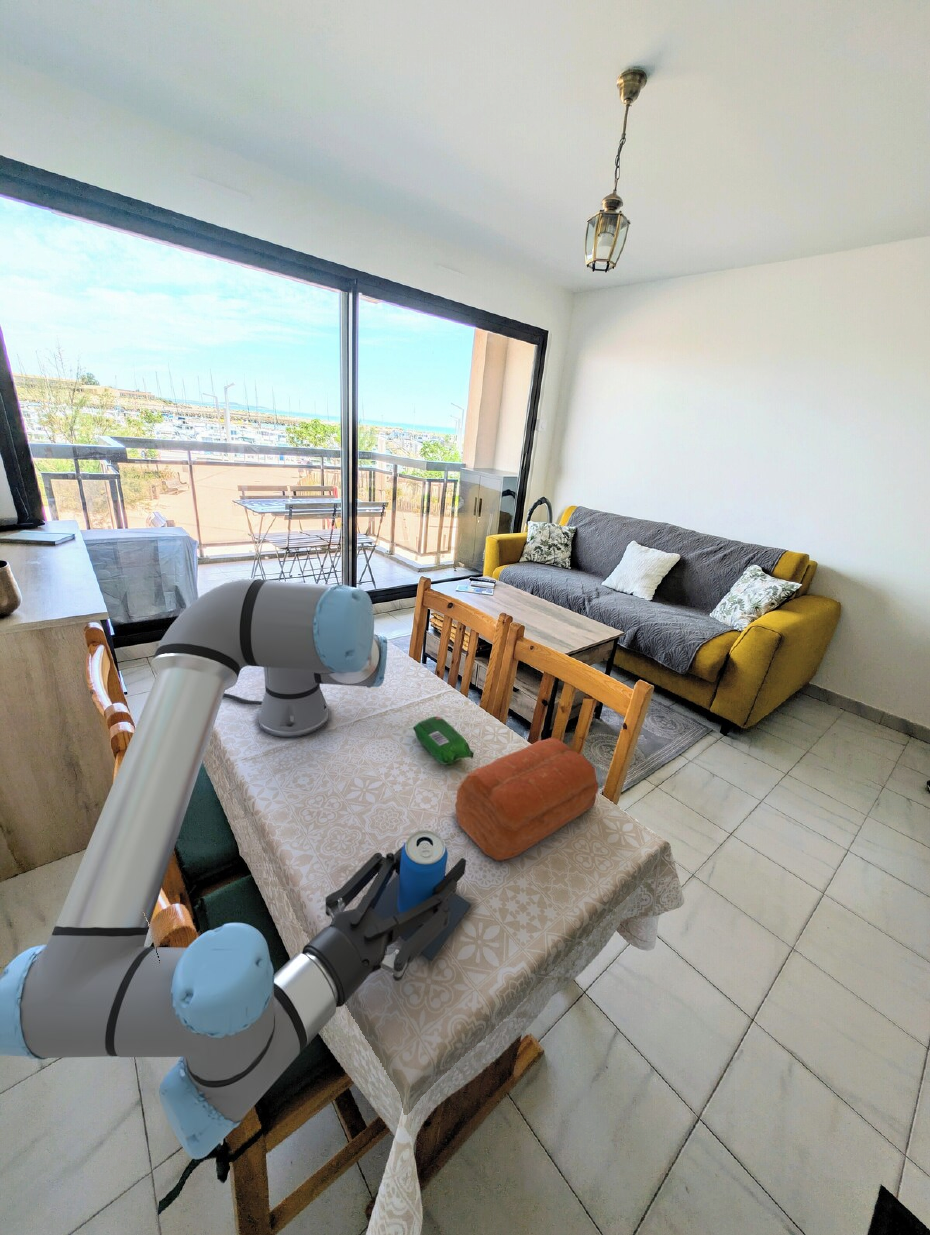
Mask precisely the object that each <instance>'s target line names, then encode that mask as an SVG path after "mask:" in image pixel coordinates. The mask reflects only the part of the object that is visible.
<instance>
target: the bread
mask: <svg viewBox="0 0 930 1235" xmlns="http://www.w3.org/2000/svg"><path fill="white" fill-rule="evenodd" d="M598 793H599V782H598V780H597V774H596V770H595V766H594V765H593V764H592V763H591V762H589V760H588V759H587V758H586V757H585V756H584V755H582V754H580V753H577V752H576V751H573V750H572V749H571V747H570V746H568V745H567V744H565V743H564V742H563V741H562V740H560V739H558V738H555V737H554V738H553V737H549V738H546V739H541V740H537V741H535V742H534V743H531V744H530V745H528V746H526V747H524V748H521V749H520V750H517V751H515V752H512V753H509V754H506V755H504V756H502V757H500V758H497V759H496V760H494V761H493V762H491V763H489V764H488V763H487V764H486V765H483V766H481V767H478V768H476V769H473V771H471V772H469V773H468V774H467V775H466V777H465V779H464V780H462V781H461V782H460V784H459V786H458V788H457V790H456V801H455V804H454V807H455V812H456V818H457V823H458V824H457V825H459V826H460V827H461V829H462V830H463V831H464V832H465V833H466V834H467V835H468V836H469V838H470V839H471V840H472V841H473V842H474V843H475V844H476V846H477V847H478V848H479V849H480V850H481V851H482V852H483V853H484V855H486V856H488V857H490V858H491V859H494V860H496V861H497V862H498V861H503V860H508V859H512V858H515V857H517V856H519V855H520V854H522V853H523V852H525V851H527V850H528V849H530V848H532V847H533V846H535V845H536V844H538V843H539V842H541V841H542V840H544V839H545V838H547V837H549V836H550V835H552V834H553V833H555V832H557V831H559V830H560V829H561V828H563V827H564V826H566V825H567V824H569V823H570V822H572V821H573V820H575V819H577V818H578V817H580V816H581V815H583V814H584V813H585V812H587V811H588V810H589V809H591V808H592V807H593V806H594V805H595V802H596V799H597V796H596V795H597V794H598Z"/></svg>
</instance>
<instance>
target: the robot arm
mask: <svg viewBox="0 0 930 1235" xmlns="http://www.w3.org/2000/svg"><path fill="white" fill-rule="evenodd" d="M373 607H374V606H373V602H372V600H371V597H370V595H369V594H368V592H367V591H365V590H364V589H362V588H359V587H354V586H349V585H346V584H323V583H311V582H299V581H285V580H272V579H271V580H270V579H262V578H251V577H248V578H247V577H246V578H239V579H234V580H230V581H227V582H224V583H222V584H220V585H217V586H215V587H213V588H212V589H210V590H208V591H206V592H205V593H203V594H202V595H201V596H199V597H198V598H197V599H195V600H194V601H193V602H191V603H190V604H189V606H187V607H186V608H185V609H184V610H183V611H181V613H180V614H179V615H178V616H177V617H176V619H174V621H173V622H172V624H170V626H169V627H168V629H167V631H166V632H165V633H164V635H163V637H162V638H161V639H160V641H159V643H158V646H157V648H156V650H155V652H154V655H153V657H152V659H151V662H150V668H151V669H152V671H153V672H154V674H155V678H154V681H153V683H152V686H151V689H150V691H149V693H148V696H147V698H146V701H145V704H144V706H143V708H142V711H141V714H140V716H139V718H138V720H137V723H136V726H135V728H134V731H133V733H132V735H131V738H130V740H129V743H128V745H127V748H126V751H125V753H124V755H123V757H122V760H121V763H120V765H119V767H118V770H117V772H116V774H115V777H114V780H113V782H112V785H111V788H110V790H109V793H108V795H107V797H106V800H105V803H104V805H103V807H102V810H101V813H100V814H99V817H98V820H97V822H96V824H95V827H94V830H93V832H92V835H91V837H90V839H89V843H88V845H87V847H86V850H85V852H84V855H83V857H82V859H81V861H80V864H79V867H78V869H77V872H76V874H75V877H74V879H73V881H72V884H71V887H70V889H69V891H68V894H67V897H66V899H65V901H64V903H63V906H62V908H61V911H60V914H59V916H58V919H57V921H56V924H55V926H54V927H53V931H52V932H51V935H50V937H49V939H48V941H47V944H42V945H36V946H35V945H34V946H33V947H30V948H28V949H26V950H24V951H22V952H20V953H19V954H18V955H17V956H15V957H14V959H13V960H11V961H10V962H9V963H8V965H7V966H5V968H4V970H3V971H2V974H1V977H0V1056H4V1057H5V1056H6V1057H7V1056H8V1057H25V1058H26V1057H28V1058H29V1059H31V1060H38V1061H45V1060H47V1059H60V1058H61V1059H64V1058H65V1059H66V1058H100V1057H105V1058H106V1057H107V1058H108V1057H110V1058H111V1057H112V1058H114V1057H118V1058H179V1059H178V1061H177V1063H175V1065H174V1066H173V1067H172V1068H171V1069H170V1070H169V1071H168V1073H166V1075H165V1076H164V1077H163V1079H162V1081H161V1083H160V1085H159V1087H158V1095H159V1096H158V1097H159V1100H160V1104H161V1106H162V1108H163V1111H164V1114H165V1116H166V1118H167V1122H168V1123H169V1125H170V1127H171V1129H172V1131H173V1134H174V1135H175V1137H176V1139H177V1141H178V1142H179V1144H180V1145H181V1147H182V1149H183V1150H184V1152H185V1153H186V1155H188V1156H189V1157H190V1158H191V1159H194V1160H200V1159H204V1158H205V1157H207V1156H208V1155H209V1154H210V1153H211V1152H212V1151H213V1150H215V1148H216V1147H217V1146H218V1145H219V1144H220V1143H221V1142H222V1141H223V1140H224V1139H225V1138H226V1137H227V1136H228V1135H229V1134H230V1133H231V1132H232V1131H233V1130H234V1129H236V1128H238V1126H239V1125H240V1124H241V1123H242V1122H243V1119H244V1118H245V1117H246V1116H247V1114H248V1113H249V1112H250V1111H251V1110H252V1108H253V1107H255V1105H256V1104H257V1103H258V1102H259V1100H261V1098H262V1097H263V1096H264V1095H265V1094H266V1092H267V1091H269V1089H270V1088H271V1087H272V1086H273V1085H274V1083H276V1081H277V1080H278V1079H279V1078H280V1077H281V1075H282V1074H283V1073H284V1072H285V1071H286V1070H287V1069H288V1068H289V1066H290V1065H291V1064H292V1063H293V1062H294V1061H295V1060H296V1058H297V1057H298V1056H299V1055H300V1053H301V1052H303V1050H304V1049H305V1048H307V1046H308V1045H309V1044H310V1043H311V1042H312V1040H314V1038H315V1037H316V1036H317V1035H318V1034H319V1033H320V1032H321V1031H322V1030H323V1028H324V1027H325V1026H326V1025H327V1024H328V1022H330V1020H331V1019H332V1018H333V1017H334V1016H335V1014H336V1013H337V1008H340V1007H343V1006H345V1004H346V1003H347V1002H348V1001H349V999H350V998H351V997H353V995H354V994H355V993H356V991H357V990H358V989H359V988H360V987H361V986H362V985H363V984H364V982H365V981H366V980H367V978H368V977H369V976H370V975H371V974H373V973H375V972H377V971H379V970H381V969H383V970H385V971H386V972H389V973H391V974H392V979H393V980H394V981H396V982H400V981H402V980H403V978H404V976H405V973H406V971H407V970H408V967H409V965H410V964H411V963H412V962H413V961H414V960H415V959H416V958H417V957H419V955H420V954H421V952H422V951H423V950H424V949H425V948H426V947H427V946H428V945H429V944H430V943H431V942H432V940H433V939H434V938H435V937H436V936H437V935H438V934H439V933H440V932H441V931H442V930H443V929H444V928H445V927H446V926H447V925H448V923H449V916H450V907H449V906H446V904H447V902H448V901H449V900H450V899H451V898H452V897H453V896H454V894H455V893H456V892H457V888H458V882H459V881H460V880H461V878H462V877H463V876H464V875H465V872H466V866H467V859H465V858H464V857H461V858H460V859H459V861H457V863H455V865H453V867H452V868H451V869H450V870H448V872H447V873H446V874H445V877H444V878H443V879H442V880H441V881H440V882H439V883H438V884H437V885H436V886H435V887H434V893H433V896H432V897H430V898H428V899H427V900H425V901H423V902H421V903H419V904H418V905H416V906H414V907H412V908H410V909H408V910H407V911H405V912H403V913H401V914H399V915H398V916H396V917H394V916H391V917H389V918H387V919H386V920H385V919H383V918H382V917H380V916H378V915H377V914H376V912H375V911H374V908H375V906H376V905H377V903H378V901H379V899H380V897H381V895H382V893H383V891H384V889H385V888H386V886H387V885H388V884H389V883H390V880H391V878H392V876H393V875H394V873H395V874H396V875H397V874H398V875H400V864H401V852H402V848H403V846H404V845H402V846H401V847H400V848H398V850H396V851H395V852H394V853H393V852H388V853H387V854H386V855H385V856H383V854H382V853H381V852H376V853H374V854H373V855H372V856H371V857H370V858H369V859H368V860H367V861H366V862H365V863H364V864H363V865H362V866H361V867H360V868H359V869H358V870H357V871H356V872H355V873H354V874H353V875H352V876H351V877H350V878H349V880H348V881H347V882H345V883H344V884H343V885H342V887H341V888H339V889H337V890H335V891H334V892H332V893H330V894H328V895H327V896H326V897H325V899H324V900H325V903H324V904H325V907H324V908H325V910H324V912H325V915H326V916H328V917H330V918H331V921H330V923H329V925H327V926H325V927H323V929H321V930H320V932H318V933H317V934H316V935H315V936H314V937H313V938H312V939H311V940H309V942H308V943H306V944H305V945H304V946H303V947H302V952H300V953H295V954H294V955H293V956H292V957H291V958H290V959H289V960H288V961H286V963H285V964H284V965H282V967H280V968H279V970H277V971H276V972H274V971H275V970H274V967H273V962H272V961H271V956H270V950H269V946H268V942H267V940H266V938H265V937H264V935H263V934H262V932H261V931H259V930H258V928H255V927H254V926H252V925H250V924H248V923H243V922H228V923H224V924H223V925H221V926H219V927H216V928H214V929H209V930H207V931H205V932H203V933H202V934H200V935H199V936H198V937H196V939H194V940H193V941H192V942H191V943H190V944H189V945H188V947H176V946H175V947H173V946H172V947H171V946H170V947H169V946H166V947H163V946H162V947H161V946H145V944H146V940H147V936H148V934H149V931H150V925H151V922H152V918H153V916H154V913H155V909H156V907H157V903H158V899H159V897H160V894H161V890H162V888H163V885H164V882H165V879H166V876H167V872H168V869H169V867H170V863H171V861H172V860H171V859H172V857H173V854H174V850H175V847H176V844H177V841H178V838H179V835H180V832H181V829H182V826H183V822H184V819H185V816H186V813H187V811H188V807H189V804H190V801H191V798H192V795H193V791H194V788H195V785H196V782H197V778H198V775H199V772H200V770H201V767H202V764H203V760H204V757H205V754H206V750H207V748H208V745H209V742H210V739H211V736H212V732H213V729H214V726H215V724H216V723H215V722H216V720H217V717H218V714H219V710H220V708H221V705H222V704H221V703H222V701H223V698H226V699H227V698H228V699H231V700H234V701H236V702H239V703H241V704H246V705H255V706H260V707H259V708H258V709H259V710H258V713H257V714H258V715H257V720H258V726H259V728H260V729H261V730H262V731H263V732H264V733H267V734H268V735H271V736H274V737H279V738H297V737H301V736H306V735H309V734H312V733H314V732H316V731H318V730H320V728H322V727H323V726H324V725H325V724H326V722H327V721H328V719H329V707H328V704H327V702H326V698H325V696H324V693H323V692H322V689H321V685H337V686H352V687H364V688H365V687H366V688H367V689H369V688H370V689H371V688H379V687H381V686H382V685H383V683H384V680H385V674H386V669H387V668H386V667H387V659H388V658H387V657H388V639H387V637H386V636H384V635H379V634H377V633H375V616H374V615H375V614H374V611H373V609H374V608H373ZM249 666H250V667H260V668H263V674H264V676H263V677H264V695H263V698H262V700H250V699H246V698H242V697H239V696H236V695H234V694H230V693H225V692H226V690H229V689H231V688H233V687H234V686H235V685H236V684H237V683H238V679H239V676H240V673H241V670H242V669H243V668H245V667H249ZM372 880H373V881H372ZM371 881H372V883H371V885H370V886H369V888H368V890H367V891H366V893H365V894H364V895H363V896H362V898H361V900H360V901H359V903H358V905H357V906H356V908H354V909H349V910H345V909H346V907H347V906H348V905H349V904H351V902H352V901H353V900H354V899H355V898H357V896H358V895H359V894H360V893H361V892H362V891H363V890H364V889H365V887H366V886H368V884H369V883H370V882H371ZM456 894H457V893H456ZM142 910H143V911H142ZM143 912H144V913H145V916H144V913H143ZM145 917H146V918H147V920H148V922H149V924H150V925H149V926H148V922H147V921H146V918H145ZM426 921H427V922H426ZM424 922H426V923H425V924H424V925H423V926H422V927H421V928H420V929H419V930H418V931H417V932H415V933H414V934H413V935H412V936H411V937H410V938H409V939H408V940H407V941H405V942H404V943H403V945H401V947H400V949H398V948H396V949H395V950H394V951H393V952H392V953H390V954H387V950H388V947H389V946H392V945H393V944H394V943H396V942H397V941H398V939H399V938H401V937H400V936H402V935H404V934H406V933H407V932H409V931H411V930H412V929H414V928H416V927H418V926H419V925H421V924H423V923H424ZM155 947H157V953H158V955H157V953H156V950H155ZM157 956H159V958H158V957H157ZM159 960H160V961H159ZM159 962H160V964H159Z"/></svg>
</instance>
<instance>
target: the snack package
mask: <svg viewBox="0 0 930 1235" xmlns="http://www.w3.org/2000/svg"><path fill="white" fill-rule="evenodd" d="M412 729H413V731H414V733H415V735H416V739H417V740H418V741H419V742H420V744H422V745H423V747H425V748H426V750H427V751H428V752H429V753H430V754H431V755H432V756H433V757H434V758H435V759H436V760H437V761H438V762H439V763H441V764H442V765H445V766H446V765H448V764H449V765H452V764H454V763H455V762H457V761H459V760H461V759H467V758H471V759H473V758H474V754H475V752H474V751H472V750H471V748H470V746H469V743H468V742H467V740H466V739H465V737H464V736H462V735H461V734H460V733H459V731H457V730H456V729H455V728H454V727H453V726H452V725H451V724H450V723H449V722H448V721H447V720H446V719H444V718H443V717H441V716H432V717H428V718H426V719H424V720H421V721H419V722H417V723H416V724H415V725H414V726H413V727H412Z"/></svg>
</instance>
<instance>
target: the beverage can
mask: <svg viewBox="0 0 930 1235" xmlns="http://www.w3.org/2000/svg"><path fill="white" fill-rule="evenodd" d="M402 846H403V848H402V852H401V864H400V877H399V890H398V909H399V912H400V914H401V913H403V912H405V911H407V910H408V909H410V908H412V907H414V906H416V905H418V904H419V903H421V902H423V901H425V900H427V899H428V898H430V897H432V896H433V893H434V887H435V886H436V885H437V884H438V883H439V882H440V881H441V880H442V879H443V878H444V877H445V876H446V871H447V865H448V864H447V863H448V856H449V853H448V852H449V851H448V848H447V845H446V842H445V840H444V838H443V837H442V836H441V835H440V834H439V833H437V832H435V831H433V830H429V829H420V830H417V831H415V832H413V833H411V834H410V835H408V837H407V838H406V841H405V842H404V844H403V845H402ZM426 922H427V921H426ZM426 922H424V923H426ZM424 923H423V924H424Z"/></svg>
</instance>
